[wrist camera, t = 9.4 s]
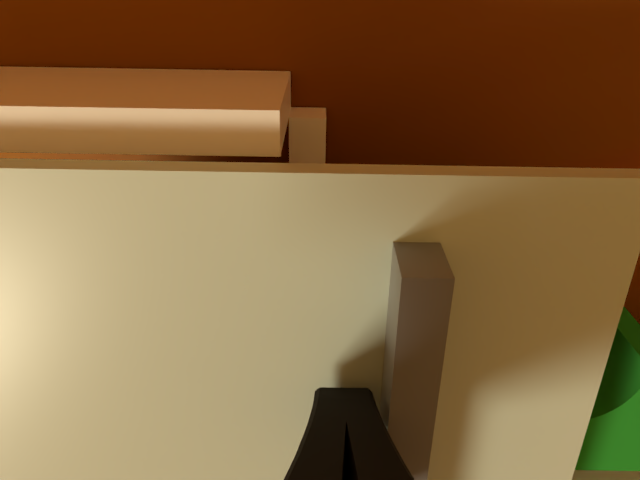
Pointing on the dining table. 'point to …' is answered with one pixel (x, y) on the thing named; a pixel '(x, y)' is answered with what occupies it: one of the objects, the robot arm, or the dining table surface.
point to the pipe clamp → (616, 406)
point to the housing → (166, 121)
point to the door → (304, 313)
